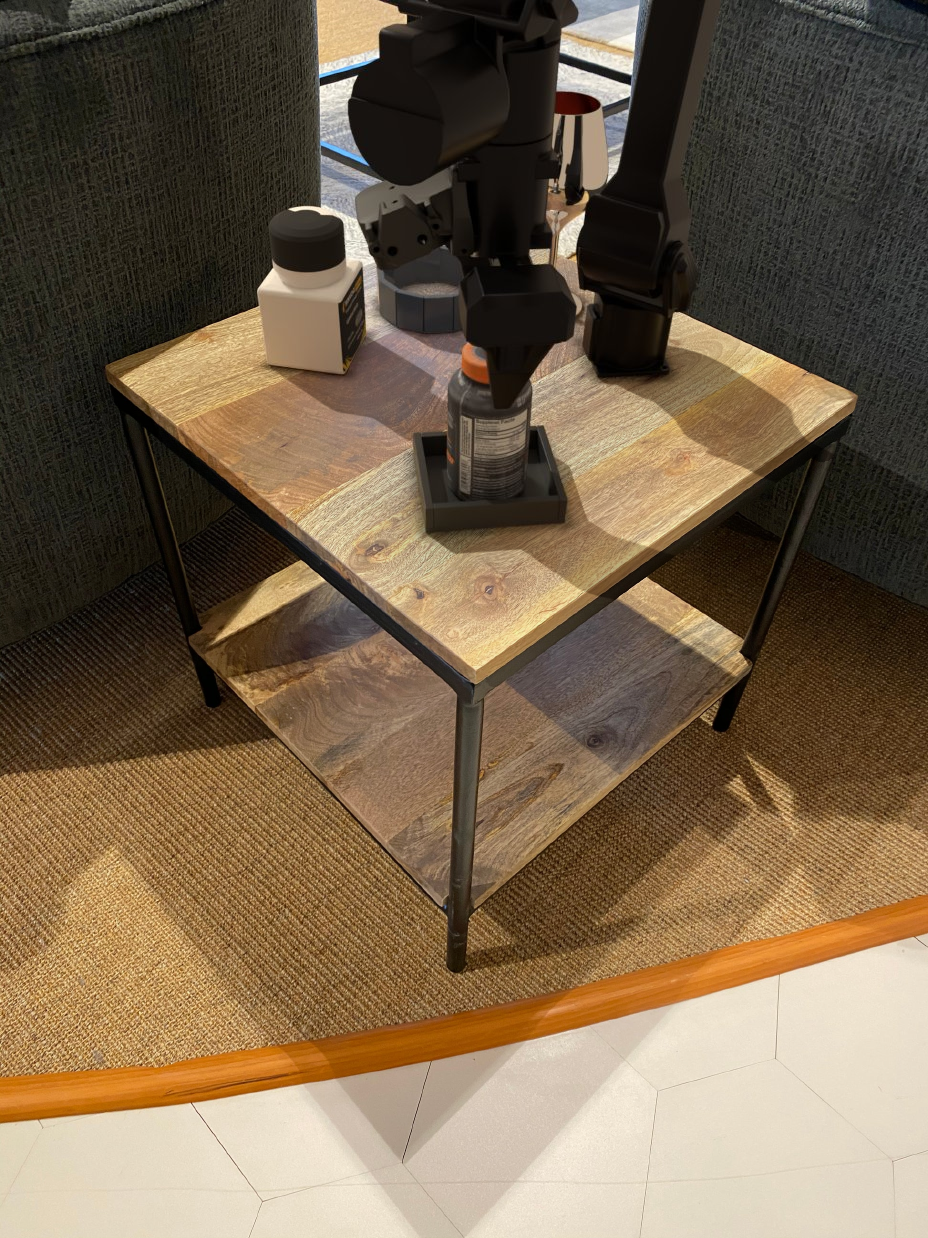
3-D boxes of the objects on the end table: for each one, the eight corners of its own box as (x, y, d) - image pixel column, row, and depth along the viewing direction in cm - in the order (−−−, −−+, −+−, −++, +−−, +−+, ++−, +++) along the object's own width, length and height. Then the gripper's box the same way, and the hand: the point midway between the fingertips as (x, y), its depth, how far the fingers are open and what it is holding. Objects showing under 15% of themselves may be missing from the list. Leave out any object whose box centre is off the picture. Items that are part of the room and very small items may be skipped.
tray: (541, 448, 78) (543, 424, 76) (565, 523, 72) (568, 499, 70) (413, 455, 77) (412, 432, 75) (425, 533, 71) (425, 509, 69)
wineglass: (487, 303, 94) (496, 100, 81) (545, 276, 98) (562, 79, 85) (551, 336, 90) (571, 128, 77) (608, 306, 94) (637, 104, 81)
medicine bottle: (345, 376, 85) (335, 240, 76) (266, 365, 85) (247, 230, 77) (367, 334, 89) (360, 202, 81) (292, 324, 90) (277, 193, 82)
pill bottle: (461, 452, 77) (464, 319, 68) (534, 468, 75) (546, 334, 67) (435, 498, 73) (435, 363, 65) (513, 515, 71) (523, 380, 63)
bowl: (478, 277, 97) (479, 243, 95) (493, 330, 90) (495, 294, 88) (375, 281, 96) (373, 247, 94) (382, 335, 89) (381, 299, 87)
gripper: (351, 74, 61) (363, 307, 72) (371, 200, 48) (382, 459, 59) (527, 71, 62) (512, 300, 74) (593, 193, 50) (563, 448, 61)
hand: (490, 369), depth 67 cm, fingers open, 9 cm apart
